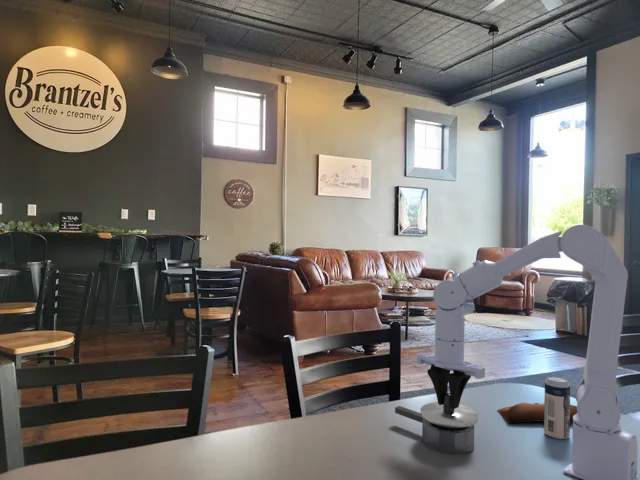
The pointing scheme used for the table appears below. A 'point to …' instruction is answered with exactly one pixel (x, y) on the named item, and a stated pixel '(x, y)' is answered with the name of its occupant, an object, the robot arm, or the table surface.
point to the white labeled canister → (557, 408)
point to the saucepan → (442, 434)
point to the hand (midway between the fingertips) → (448, 405)
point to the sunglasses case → (528, 412)
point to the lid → (449, 414)
